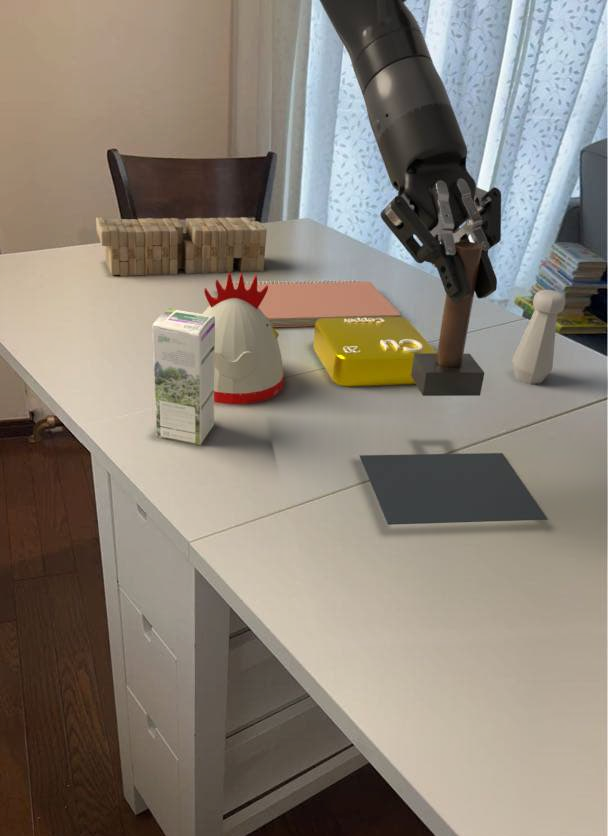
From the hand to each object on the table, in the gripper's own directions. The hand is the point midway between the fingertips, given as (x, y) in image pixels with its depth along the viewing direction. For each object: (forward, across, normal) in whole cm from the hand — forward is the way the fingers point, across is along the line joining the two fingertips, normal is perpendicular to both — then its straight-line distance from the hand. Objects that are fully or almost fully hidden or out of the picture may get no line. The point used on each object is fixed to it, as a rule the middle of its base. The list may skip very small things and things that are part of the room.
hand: (475, 295), depth 75 cm
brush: (+6, 0, +8) cm, 10 cm away
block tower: (-41, +9, +74) cm, 85 cm away
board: (+16, +3, +18) cm, 24 cm away
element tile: (-7, +16, +40) cm, 44 cm away
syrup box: (-2, -18, +36) cm, 40 cm away
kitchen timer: (-9, -6, +43) cm, 44 cm away
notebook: (-23, +19, +57) cm, 64 cm away
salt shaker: (+3, +35, +31) cm, 47 cm away
